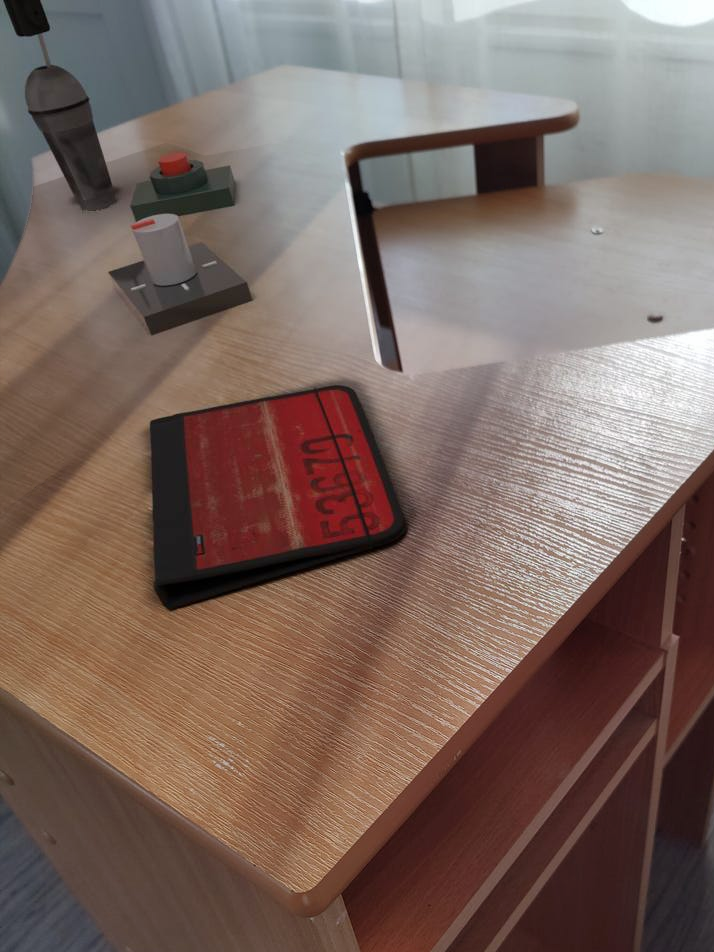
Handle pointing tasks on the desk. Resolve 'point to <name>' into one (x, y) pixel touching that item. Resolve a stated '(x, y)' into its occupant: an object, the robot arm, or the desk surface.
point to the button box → (184, 192)
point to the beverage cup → (69, 132)
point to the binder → (265, 491)
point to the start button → (174, 163)
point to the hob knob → (164, 249)
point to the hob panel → (181, 292)
